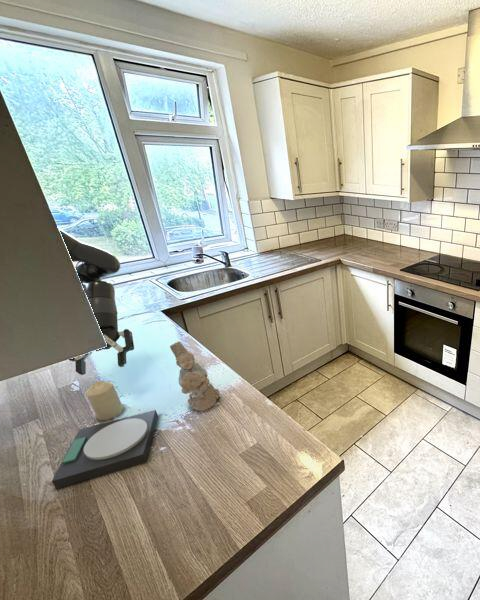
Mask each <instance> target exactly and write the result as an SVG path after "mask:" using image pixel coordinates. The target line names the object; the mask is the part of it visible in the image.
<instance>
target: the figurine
mask: <svg viewBox="0 0 480 600" xmlns="http://www.w3.org/2000/svg"><path fill="white" fill-rule="evenodd" d="M169 348H170V351H171V352H172V354H173V355H174V357H175V360H176V361H175V364H176V365H177V366H178V367H179V368H180V369H179V375H178V384H179V386H180V387H181V393H182V394H185V395H186V394H187V395H188V399H187V403H188V404H189V405H190V409H191V410H195V411H198V412H203V411H206V410H208V409H210V408H211V407H214V405H215V404H216V403H217V400H218V399H219V398H220V397H219V396H220V392H219V390H220V389H218V388H215V387H214V385H213V384H212V383H211V382H210V379H209V378H208V371H207V370H206V369H205V368H204V367H203V366H202V365H201V364H200V363H199V362H196V361H195V357H194V353H191V352H190V351H188V350H187V348H186V347H185V345H184V344H183V343H182V342H181V341H176V342H175V343H173V344H171V345H170V346H169Z"/></svg>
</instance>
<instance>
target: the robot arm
mask: <svg viewBox="0 0 480 600" xmlns="http://www.w3.org/2000/svg"><path fill="white" fill-rule="evenodd" d="M59 230H60V232H61V234H62V237H63V239H64V242H65V244H66V246H67V249H68V251H69V254H70V256H71V259H72V261H73V262H72V263H75V262H76V265H75V267H74V269H75V268H76V270H77V273H78V276H79V278H80V281H81V283H82V286H83V288H84V291H85V293H86V295H87V297H88V300H89V302H90V304H91V307H92V309H93V312H94V315H95V317H96V319H97V321H98V324H99V326H100V329H101V331H102V333H103V336H104V338H105V341H106V343H107V347H105V348H102V349H99V350H96V351H95V352H100V351H103V350H110V349H111V348H113V349H115V350H116V351H117V366H118V367H120V368H123V367H125V365H126V364H127V353H128V352H131V351H134V350H135V344H134V337H133V332H132V331H131V330H130V329H129V328H124V329H123V330H121V331H119V326H118V325H119V322H118V309H117V304H116V290H115V286H114V284H112V283H111V282H110V281H105V280H102V279H104V278H107V277H109V276H112V275H115V274H117V273H118V272H119V271H120V269H121V262H120V261H119V259H118V258H117V257H116V256H115V255H114V254H112V253H111V252H109V251H107V250H105V249H102V248H99V247H96V246H95V245H92V244H89V243H85V242H82V241H81V240H79V239H77V238H76V237H74V236H72V235H71V234H69V233H67V232H66V231H64V230H63V229H61V228H59ZM120 337H121V338H123V339H124V344H125V345H124V346H121V345H120V344H119V343H118V342H117V341H118V340H119V339H120ZM92 354H93V352H90V353H87V354H85V355H82V356H78V357H76V358H73V359H69V360H68V361H69V362H70V361H71V362H75V372H76V373H77V374H78V375H79V376H80V375H81V376H85V375H86V374H87V367H86V365H87V363H86V361H85V360H87V358H88V357H89V356H91V355H92Z"/></svg>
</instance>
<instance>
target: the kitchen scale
mask: <svg viewBox="0 0 480 600" xmlns="http://www.w3.org/2000/svg"><path fill="white" fill-rule="evenodd" d="M158 419H159V414H158V412H157V410H156V409H153V410H150V411H149V410H148V411H145V412H142V413H138V414H133V415H130V416H126V417H122V418H118V419H115V420H111V421H110V420H109V421H106V422H103V423H99V424H95V425H91V426H86V427H82V428H79V429H78V432H77V433H76V435H75V437H74V439H73V440H72V442H71V444H70V446H69V448H68V450H67V451H66V454H65V456H64V458H63V459H62V461H61V462H60V465H59V467H58V469H57V470H56V472H55V474H54V475H53V478H52V479H51V483H52V485H53V487H54V489H56V490H58V489H61V488H64V487H67V486H71V485H74V484H77V483H80V482H84V481H87V480H91V479H94V478H97V477H100V476H104V475H107V474H111V473H113V472H117V471H120V470H123V469H125V468H130V467H134V466H136V465H139V464H143V463H146V462H147V461H148V456H149V453H150V449H151V445H152V441H153V438H154V434H155V431H156V427H157V423H158Z"/></svg>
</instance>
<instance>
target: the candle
mask: <svg viewBox="0 0 480 600" xmlns="http://www.w3.org/2000/svg"><path fill="white" fill-rule="evenodd" d="M85 395H86V397H87V400H88V401H89V403H90V405H91V407H92V409H93V411H94V414H95V416H96V418H97V419H98V420H99V421H108V420H109V421H110V420H112V419H114V418H116V417H118V416H120V414H121V413H123V411H124V406H123V404H122V402H121V399H120V397H119V395H118V392H117V390H116V387H115V386H114V383H113V382H112V381H111V382H110V381H106V380H101V381H95V382H94V383H92V385H90V387H88V389H87V390H86V392H85Z"/></svg>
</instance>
